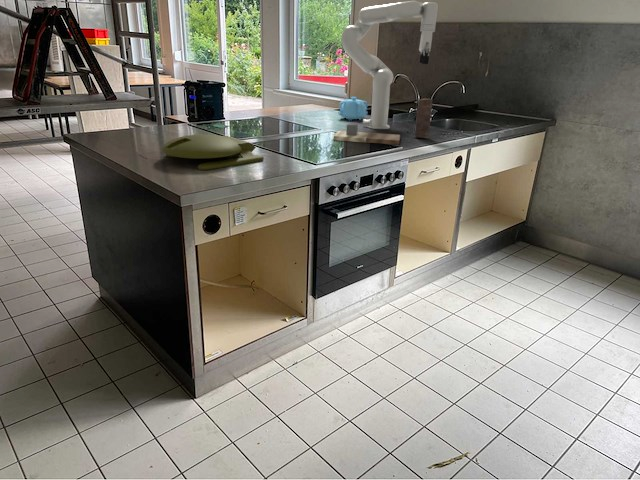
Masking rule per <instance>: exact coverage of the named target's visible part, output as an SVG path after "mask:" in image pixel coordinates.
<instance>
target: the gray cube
mask: <svg viewBox="0 0 640 480" xmlns="http://www.w3.org/2000/svg"><path fill="white" fill-rule="evenodd" d="M358 127H359V124H358V123H349V122H347V124H346V130H345V131H346V135H355V136H356V135H357V132H358Z"/></svg>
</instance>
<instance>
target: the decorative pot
mask: <svg viewBox="0 0 640 480" xmlns="http://www.w3.org/2000/svg"><path fill="white" fill-rule="evenodd" d="M350 98H351V99H344V100H342V101H340V102H339V104H338V107H339V111H338V112H337V114H338V116H341V118H343V119H344V118H346V119H345V120H348V121H350V120H351V121H353V120H357V119H359V120H358V121H362V120H364V119H365V118H366V116H367V115H368V113H369V112H368V110H367V108H368V105H369V104H368V102H367V101H366V100H362V99H358V98H357V96H351V97H350Z"/></svg>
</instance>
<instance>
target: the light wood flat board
mask: <svg viewBox="0 0 640 480" xmlns="http://www.w3.org/2000/svg"><path fill="white" fill-rule="evenodd" d="M346 131H347V130H337V132H336V133H335V134H334V135H333V140H334V141H341V142H342V141H343V142H352V143H353V142H355V143H366V144H367V143H370V144H384V145H397V146H398V145H400V141H401V140H400V139H401V134H397V133H396V134H393V133H379V132H378V133H377V132H363V131H357V135H356V136H355V135H346Z"/></svg>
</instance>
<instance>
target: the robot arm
mask: <svg viewBox="0 0 640 480" xmlns="http://www.w3.org/2000/svg"><path fill="white" fill-rule="evenodd" d="M438 9H439V5H438V3H437V2H433V1H432V2H431V1H427V2H419V1H417V0H409V1H407V0H406V1H400V2H396V3H395V2H394V3H388V4H382V5H381V4H380V5H373V6H367V7H364V8H361V9H360V10H359V12H358V19H357V21H355V23H354V24H352V25H348V26H346V27H345V28H344V29H343V31H342V34H341V41H340V42H341V46H342V48H343V50H344V52H345V53H346V54H347V56H348V57H349V58H350V59H351V60H352V61H353V62H354V63H355V64H356V65H357V66H358V67H359V68H360V69H361V70H362V71H363V72H364V74H369V75H370V76H372V95H371V96H372V97H371V98H372V99H371V111H370V112H371V114H370V119H362V123H363V124H367V128H368V129H374V130H389V129H390V125H389V124H388V119H389V107H390V95H391V93H390V92H391V84H392V83H393V82H394V73H393V72H392V70H391V69H390V68H389V67H388V66H387V65H386V64H385V63H384V62H383V61H382V60H381V59H380V58H379V57H377V56H376V55H375V54H374V55H373V54H370V53H369V52H368V51H367V49H365V48H364V47H363V46H362V45H361V44H360V43H359V42H360V41H361V40H362V39H363V38H364V37H365V36H366V34H367V33H368V32H369V31H370V29H372V27H373V26H374V24H383V23H390V22H393V21H394V20H399V19H407V18H413V19H415V18H417V19H418V18H421V21H420V30H419V32H421V35H420V41H419V48H418V51H419V52H420V56H419V61H418V63H419V64H421V65H428V64H429V59H430V52H431V49H432V41H433V33H435V32H436V23H437V19H438V18H437V16H438Z"/></svg>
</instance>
